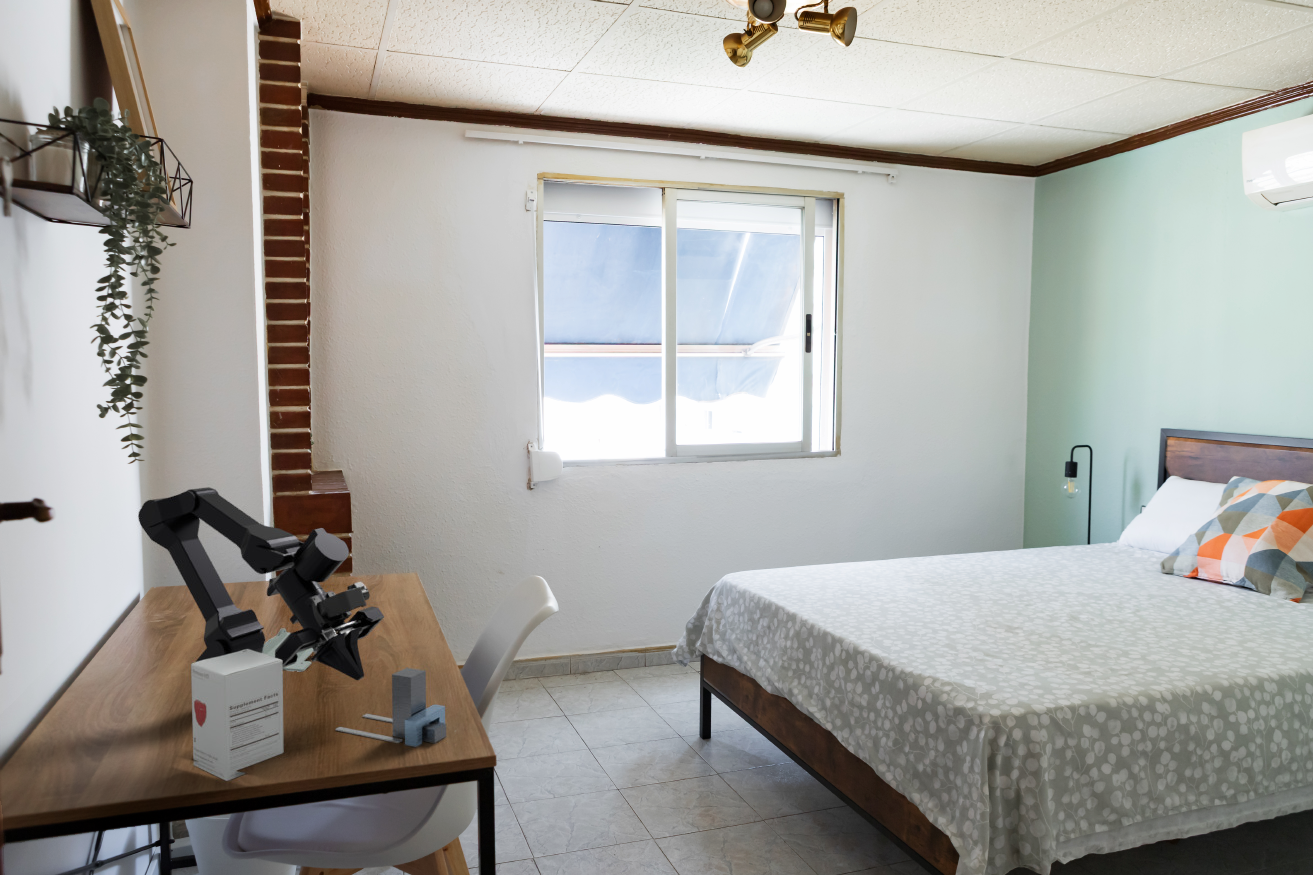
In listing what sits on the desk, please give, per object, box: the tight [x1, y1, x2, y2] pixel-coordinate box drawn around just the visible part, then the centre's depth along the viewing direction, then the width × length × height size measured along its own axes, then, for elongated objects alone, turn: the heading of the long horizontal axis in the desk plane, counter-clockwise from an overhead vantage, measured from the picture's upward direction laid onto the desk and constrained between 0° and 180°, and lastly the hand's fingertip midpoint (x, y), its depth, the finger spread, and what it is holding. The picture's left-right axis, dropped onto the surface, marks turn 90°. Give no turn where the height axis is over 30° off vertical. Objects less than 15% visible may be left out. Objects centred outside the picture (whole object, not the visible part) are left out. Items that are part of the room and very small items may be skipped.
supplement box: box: [190, 649, 284, 782], centre depth 126 cm, size 9×9×15 cm
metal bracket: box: [262, 627, 314, 673], centre depth 174 cm, size 14×6×15 cm
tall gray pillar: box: [391, 667, 447, 744], centre depth 133 cm, size 8×4×10 cm, turn 67°
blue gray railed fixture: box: [335, 703, 446, 748], centre depth 136 cm, size 16×8×5 cm, turn 67°
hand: (361, 678), depth 137 cm, fingers closed
